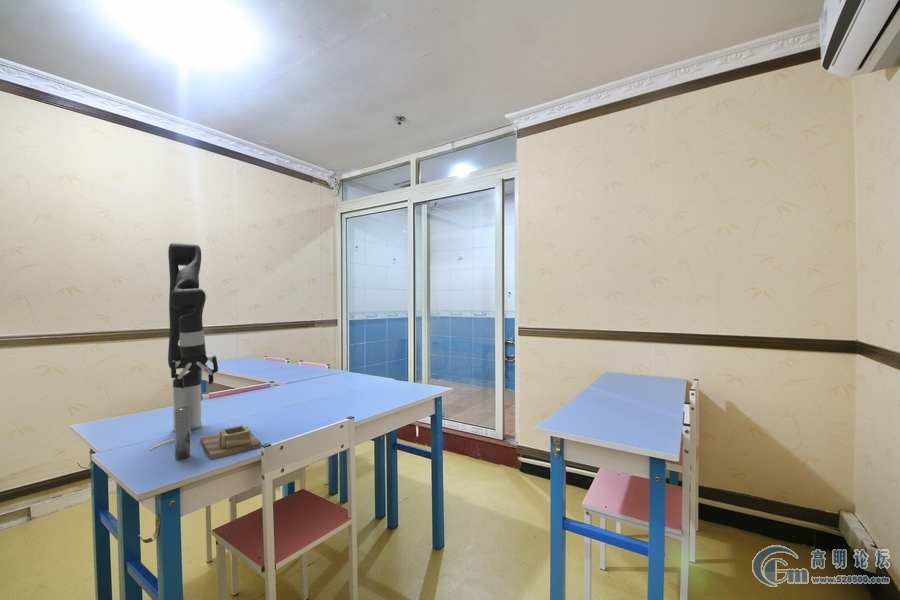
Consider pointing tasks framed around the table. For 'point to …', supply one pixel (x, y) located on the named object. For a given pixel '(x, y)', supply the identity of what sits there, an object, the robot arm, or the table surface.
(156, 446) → the pliers
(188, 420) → the steel pin
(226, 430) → the socket board
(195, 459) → the table surface
